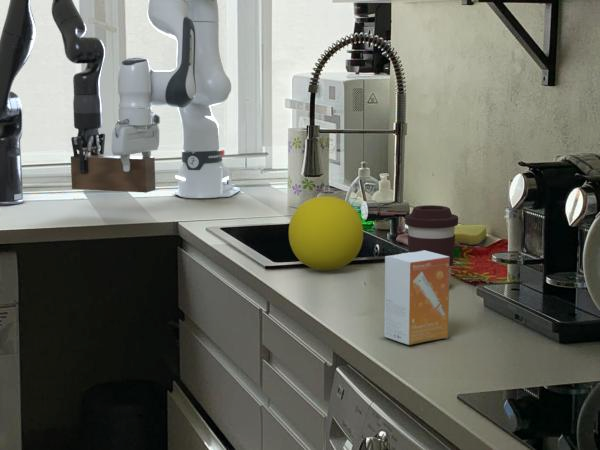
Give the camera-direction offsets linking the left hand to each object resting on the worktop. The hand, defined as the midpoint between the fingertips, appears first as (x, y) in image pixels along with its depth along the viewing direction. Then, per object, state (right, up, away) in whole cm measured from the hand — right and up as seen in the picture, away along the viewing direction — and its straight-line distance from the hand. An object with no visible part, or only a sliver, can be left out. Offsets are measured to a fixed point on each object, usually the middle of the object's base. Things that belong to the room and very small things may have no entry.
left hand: (89, 172), depth 290 cm
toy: (+64, -24, -76) cm, 102 cm away
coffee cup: (+83, -26, -92) cm, 127 cm away
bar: (+7, -5, -2) cm, 9 cm away
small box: (+76, -32, -127) cm, 152 cm away
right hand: (+14, 0, -6) cm, 15 cm away
